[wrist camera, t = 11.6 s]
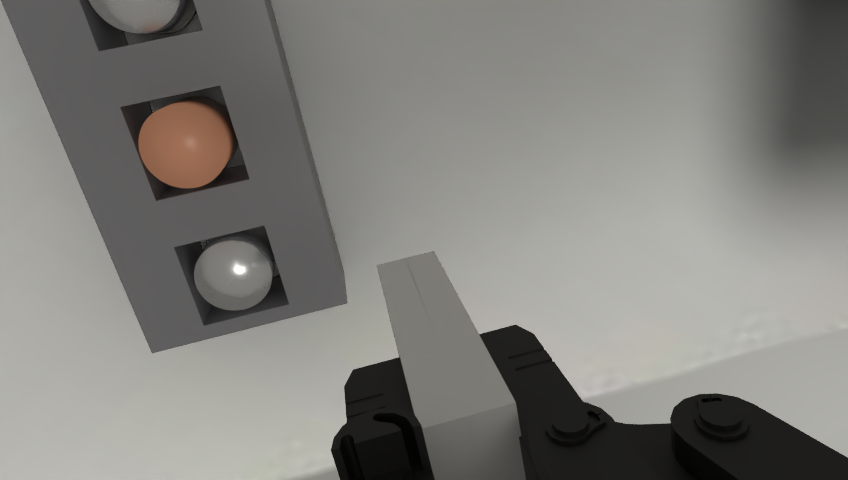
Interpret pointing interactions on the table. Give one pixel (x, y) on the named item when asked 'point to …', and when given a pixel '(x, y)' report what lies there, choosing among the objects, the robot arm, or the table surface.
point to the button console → (186, 207)
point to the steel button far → (236, 269)
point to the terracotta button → (188, 142)
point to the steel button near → (146, 14)
